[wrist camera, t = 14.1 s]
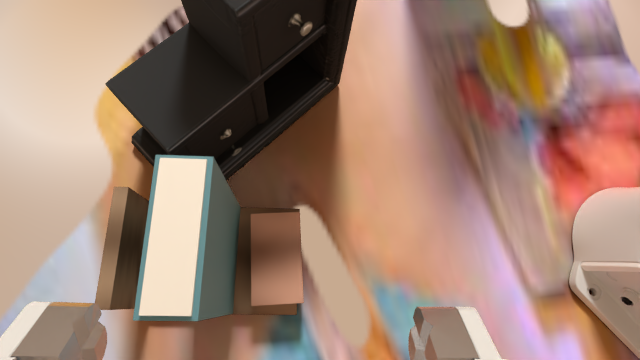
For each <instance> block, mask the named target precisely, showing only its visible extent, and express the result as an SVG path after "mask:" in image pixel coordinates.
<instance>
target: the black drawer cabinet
mask: <svg viewBox="0 0 640 360" xmlns="http://www.w3.org/2000/svg"><path fill="white" fill-rule="evenodd" d="M181 1H182V4H183V7H184V9H185V12H186V15H187V18H188V20H189V23H188V24H186V25H185V26H184V27H182V28H181V29H179V30H178V31H177V32H175V33H174V34H173V35H171V36H170V37H168V38H167V39H166V40H164V41H163V42H161V43H160V44H159V45H157V46H156V47H155V48H153V49H152V50H150V51H149V52H148V53H146V54H145V55H143V56H142V57H141V58H139V59H138V60H136V61H135V62H134V63H132V64H131V65H130V66H128V67H127V68H125V69H124V70H123V71H121V72H120V73H118V74H117V75H116V76H114V77H113V78H112V79H110V80H109V81H108V82H107V83H106V86H107V87H108V88H109V89H110V90H111V91H112V93H113V94H114V95H115V96H116V97H117V98H118V99H119V101H120V102H121V103H122V104H123V105H124V106H125V107H126V108H127V109H128V111H129V112H130V113H131V114H132V115H133V116H134V117H135V118H136V119H137V120H138V122H139V123H140V124H141V125H142V126H143V127H142V128H140V129H139V130H138V131H137V132H136V133H135V134H134V135H133V136H132V144H133V145H134V146H135V147H136V148H137V149H138V150H139V151H140V152H141V153H142V154H143V156H144V157H145V158H146V159H147V160H148V161H149V162H150V163H151V164H152V166H153V167H154V163H155V156H156V155H179V156H208V157H214V159H215V160H216V162H217V164H218V166H219V168H220V170H221V172H222V173H223V175H224V177H225V179H226V180H227V179H228V178H229V177H230V176H232V175H233V174H234V173H235V172H236V171H237V170H239V169H240V168H241V167H243V166H244V165H245V164H246V163H247V162H248V161H249V160H250V159H252V158H253V157H254V156H255V155H256V154H258V153H259V152H260V151H261V150H262V149H263V148H264V147H266V146H267V145H269V144H270V143H271V142H272V141H273V140H274V139H275V138H276V137H278V136H279V135H280V134H282V132H283V131H285V130H286V129H287V128H288V127H289V126H290V125H292V124H293V123H294V122H295V121H296V120H297V119H299V118H300V117H301V116H302V115H303V114H304V113H306V112H307V111H308V110H309V109H310V108H311V107H313V106H314V105H315V104H316V103H317V102H319V101H320V100H321V99H322V98H323V97H324V96H326V95H327V94H328V93H329V92H330V91H331V90H332V89H334V88H335V87H336V86H337V85H338V84H339V82H340V77H341V72H342V68H343V63H344V58H345V54H346V50H347V45H348V40H349V35H350V31H351V25H352V21H353V16H354V11H355V7H356V2H357V0H181Z"/></svg>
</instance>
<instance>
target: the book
mask: <svg viewBox="0 0 640 360" xmlns="http://www.w3.org/2000/svg"><path fill="white" fill-rule="evenodd" d="M240 208H241V207H240V205H239V203H238V201H237V199H236V198H235V196H234V194H233V192H232V190H231V188H230V186H229V185H228V183H227V181H226V179H225V177H224V175H223V173H222V172H221V170H220V168H219V166H218V164H217V162H216V160H215V159H214V157H208V156H179V155H156V156H155V163H154V171H153V178H152V185H151V192H150V200H149V207H148V214H147V221H146V229H145V236H144V243H143V250H142V257H141V265H140V272H139V279H138V286H137V294H136V301H135V308H134V315H133V320H145V321H201V320H205V319H210V318H215V317H219V316H224V315H229V314H233V306H234V292H235V278H236V264H237V250H238V236H239V222H240Z"/></svg>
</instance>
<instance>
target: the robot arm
mask: <svg viewBox="0 0 640 360" xmlns="http://www.w3.org/2000/svg"><path fill="white" fill-rule="evenodd" d="M572 241H573V250H574V263H573V266H572V269H571V273H570V278H569V284H570V287H571V289H572V291H573V292H574V293H575V294H576V295H577V296H578V297H579V298H580V299H581V300H582V301H583V302H584V303H585V304H586V305H587V306H588V307H589V308H590V309H591V310H592V311H593V312H594V313H595V314H596V315H597V316H598V317H599V318H600V320H601V321H602V322H603V323H604V324H605V325H606V326H607V327H608V328H609V329H610V330H611V331H612V332H613V333H614V334H615V335H616V336H617V337H618V338H619V339H620V340H621V341H622V342H623V343H624V344H625V345H626V346H627V347H628V348H629V349H630V350H631V351H632V352H633V353H634V354H635V355H636V356H637V357H638V358H639V359H640V187H632V188H623V187H615V188H608V189H604V190H601V191H599V192H597V193H595V194H593V195H592V196H591V197H589V198H588V199H587V200H586V201H585V202H584V203H583V204H582V206H581V207H580V209H579V211H578V213H577V215H576V217H575V220H574V224H573V232H572ZM589 289H590V290H591V291H592V295H590V293H589ZM100 316H101V311H100V308H99V305H98V304H94V303H70V302H31V303H30V304H28V305H26V306H25V308H24V309H23V310H22V311H21V313H20V314H19V315H18V316H17V317H16V319H15V320H14V321H13V322H12V324H11V325H10V326H9V327H8V329H7V330H6V331H5V332H4V334H3V335H2V336H1V337H0V360H102V358H103V356H104V353H105V349H106V345H107V333H106V329H105V326H103V325H102V324H101V323H100V322H98V320H99V318H100ZM413 319H414V322H415V326H414V327H413V328H411V329H410V334H409V355H410V360H508V359H502V358H501V356H500V355H499V353H498V351H497V349H496V347H495V345H494V343H493V341H492V339H491V337H490V335H489V333H488V331H487V329H486V327H485V325H484V323H483V321H482V319H481V318H480V316H479V314H478V312H477V310H476V309H475V308H474V307H417V308H416V309H415V312H414V316H413Z"/></svg>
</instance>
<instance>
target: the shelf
mask: <svg viewBox="0 0 640 360" xmlns="http://www.w3.org/2000/svg"><path fill="white" fill-rule="evenodd" d="M148 207H149V201H147V200H146V199H145V198H143V197H142V196H140V195H139V194H137V193H136V192H135V191H133V190H132V189H130V188H129V187H114V190H113V196H112V202H111V208H110V215H109V221H108V227H107V233H106V239H105V245H104V251H103V257H102V263H101V269H100V275H99V281H98V287H97V293H96V300H95V304H98V305H99V308H100V310H116V309H134V308H135V301H136V294H137V286H138V279H139V272H140V265H141V257H142V250H143V243H144V236H145V229H146V221H147V214H148ZM299 211H300V209H280V208H243V207H241V208H240V222H239V236H238V250H237V264H236V278H235V292H234V306H233V314H263V315H297V303H304V301H303V279H302V256H301V234H300V213H299Z"/></svg>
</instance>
